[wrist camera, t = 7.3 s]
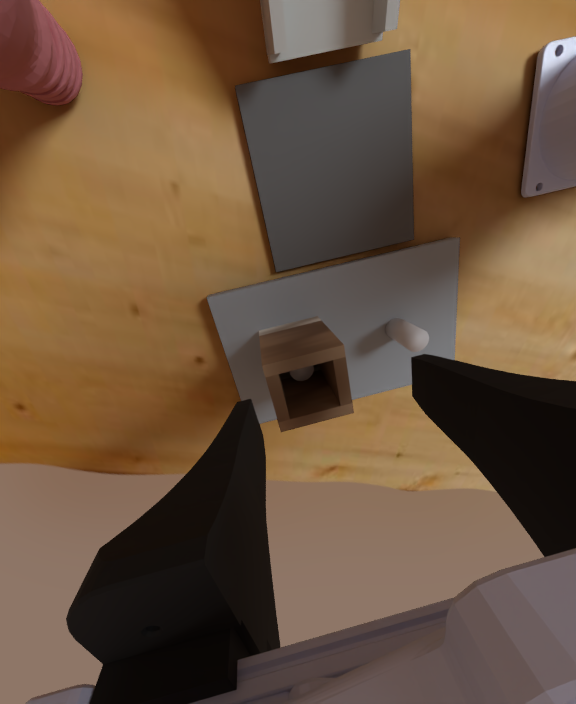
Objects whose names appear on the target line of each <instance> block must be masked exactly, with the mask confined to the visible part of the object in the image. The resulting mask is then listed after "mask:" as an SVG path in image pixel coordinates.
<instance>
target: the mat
mask: <svg viewBox="0 0 576 704" xmlns="http://www.w3.org/2000/svg"><path fill="white" fill-rule="evenodd" d="M235 90H236V94H237V99H238V103H239V108H240V112H241V117H242V121H243V126H244V130H245V135H246V139H247V144H248V148H249V153H250V157H251V162H252V166H253V171H254V175H255V180H256V184H257V189H258V193H259V198H260V202H261V207H262V211H263V216H264V220H265V225H266V229H267V234H268V238H269V243H270V247H271V252H272V256H273V261H274V265H275V270H276V272H279V271H283V270H287V269H292V268H296V267H300V266H304V265H309V264H313V263H317V262H321V261H325V260H330V259H334V258H338V257H342V256H347V255H351V254H355V253H359V252H363V251H368V250H372V249H376V248H380V247H384V246H389V245H393V244H397V243H401V242H406V241H410V240H414V215H413V163H412V112H411V61H410V49H408V50H404V51H399V52H394V53H389V54H384V55H380V56H375V57H370V58H365V59H360V60H356V61H351V62H346V63H341V64H336V65H332V66H327V67H322V68H317V69H312V70H308V71H303V72H298V73H293V74H289V75H284V76H279V77H274V78H269V79H265V80H260V81H255V82H250V83H245V84H241V85H236V86H235Z"/></svg>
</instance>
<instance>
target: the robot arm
mask: <svg viewBox="0 0 576 704" xmlns="http://www.w3.org/2000/svg"><path fill="white" fill-rule="evenodd" d="M555 50H556V55H555ZM536 186H537V190H536ZM575 186H576V36H575V37H570V38H566V39H561V40H556V41H552V42H550V43H548V44H546V45H545V46H543V47H542V49H541V50H540V52H539V53H538V57H537V65H536V73H535V81H534V89H533V98H532V106H531V114H530V122H529V130H528V139H527V147H526V155H525V163H524V171H523V180H522V188H521V195H522V196H523V197H532V196H536V195H541V194H545V193H549V192H553V191H558V190H562V189H566V188H570V187H575ZM411 368H412V396H413V398H414V399H415V400H416V402H417V403H418V405H419V406H420V407H421V409H422V410H423V411H424V412H425V414H426V415H427V416H428V417H429V418H430V419H431V420H432V421H433V422H434V423H435V424H436V425H437V426H438V427H439V428H440V429H441V430H442V431H443V432H444V433H445V434H446V435H447V436H448V437H449V438H450V439H451V440H452V441H453V442H454V443H455V444H456V445H457V446H458V447H459V448H460V449H461V450H462V451H463V452H464V453H465V454H466V455H467V456H468V457H469V459H470V460H471V461H472V462H473V463H474V464H475V465H476V466H477V468H478V469H479V470H480V471H481V473H482V474H483V475H484V476H485V477H486V479H487V480H488V481H489V482H490V484H491V485H492V486H493V487H494V489H495V490H496V491H497V492H498V494H499V495H500V496H501V498H502V499H503V500H504V501H505V503H506V504H507V505H508V507H509V508H510V509H511V511H512V512H513V513H514V514H515V516H516V517H517V519H518V520H519V522H520V523H521V524H522V526H523V527H524V528H525V530H526V531H527V533H528V534H529V535H530V537H531V538H532V539H533V541H534V542H535V544H536V545H537V547H538V548H539V549H540V551H541V552H542V554H543V555H544V558H540V559H537V560H533V561H530V562H526V563H523V564H519V565H516V566H512V567H509V568H505V569H502V570H499V571H497V572H495V573H492V574H490V575H488V576H485V577H483V578H481V579H479V580H476V581H474V582H473V583H472V584H470V585H469V586H468V587H467V588H466V589H464V590H463V591H462V592H461V593H459V594H458V595H457V596H456V597H454V598H451V599H447V600H444V601H441V602H437V603H434V604H430V605H427V606H423V607H420V608H416V609H413V610H410V611H406V612H402V613H399V614H396V615H392V616H389V617H385V618H382V619H378V620H375V621H371V622H368V623H364V624H361V625H357V626H354V627H350V628H347V629H343V630H340V631H337V632H333V633H330V634H326V635H323V636H319V637H316V638H313V639H309V640H305V641H302V642H298V643H295V644H292V645H288V646H285V647H281V648H280V640H279V632H278V624H277V617H276V608H275V599H274V591H273V582H272V574H271V564H270V554H269V545H268V534H267V524H266V455H265V446H264V439H263V434H262V430H261V427H260V424H259V421H258V418H257V415H256V412H255V409H254V406H253V403H252V400H251V399H247V400H243V401H240V402H237V403H236V405H235V407H234V408H233V410H232V412H231V413H230V415H229V417H228V419H227V420H226V422H225V424H224V425H223V427H222V428H221V430H220V432H219V433H218V435H217V436H216V438H215V439H214V441H213V442H212V443H211V445H210V446H209V448H208V449H207V450H206V452H205V453H204V454H203V456H202V457H201V458H200V459H199V460H198V462H197V463H196V464H195V465H194V466H193V467H192V469H191V470H190V471H189V472H188V473H187V474H186V475H185V476H184V477H183V478H182V479H181V480H180V481H179V482H178V483H177V484H176V485H175V487H174V488H172V489H171V490H170V491H169V492H168V493H167V494H166V495H165V496H164V497H163V498H162V499H161V500H160V501H159V502H158V503H156V504H155V505H154V506H153V507H152V508H151V509H149V510H148V511H147V512H146V513H145V514H144V515H143V516H141V517H140V518H139V519H138V520H136V521H135V522H134V523H133V524H131V525H130V526H129V527H127V528H126V529H125V530H123V531H122V532H121V533H120V534H118V535H117V536H116V537H114V538H113V539H112V540H110V541H109V542H108V543H107V544H105V545H104V546H102V547H101V548H100V549H99V551H98V553H97V555H96V557H95V559H94V561H93V563H92V565H91V567H90V569H89V571H88V573H87V575H86V577H85V579H84V581H83V583H82V585H81V587H80V589H79V591H78V593H77V595H76V597H75V599H74V601H73V603H72V605H71V607H70V609H69V612H68V615H67V618H66V620H67V625H68V629H69V632H70V633H71V635H72V636H73V637H74V638H75V640H76V641H77V642H79V643H80V644H81V645H82V646H83V647H84V648H85V649H86V650H88V651H89V652H90V653H91V654H92V655H93V656H94V657H96V658H97V659H98V660H99V661H100V662H102V664H103V667H102V670H101V672H100V675H99V678H98V681H97V684H96V686H94V685H89V684H82V685H76V686H73V687H69V688H65V689H62V690H58V691H55V692H51V693H48V694H44V695H41V696H37V697H34V698H31V699H30V700H29V701H28V702H26V704H576V381H567V380H556V379H548V378H540V377H533V376H527V375H520V374H514V373H509V372H504V371H499V370H494V369H489V368H485V367H480V366H476V365H472V364H468V363H464V362H459V361H455V360H451V359H447V358H443V357H439V356H434V355H429V354H422V355H418V356H414V357H411Z"/></svg>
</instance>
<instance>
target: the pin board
mask: <svg viewBox="0 0 576 704" xmlns="http://www.w3.org/2000/svg"><path fill="white" fill-rule="evenodd" d="M459 248H460V237H453V238H446V239H442V240H438V241H434V242H429V243H425V244H421V245H417V246H413V247H408V248H404V249H400V250H396V251H392V252H387V253H383V254H379V255H375V256H371V257H366V258H362V259H358V260H354V261H350V262H345V263H341V264H337V265H333V266H329V267H324V268H320V269H316V270H312V271H308V272H303V273H299V274H295V275H291V276H287V277H282V278H278V279H274V280H270V281H266V282H261V283H257V284H253V285H249V286H245V287H240V288H236V289H232V290H228V291H223V292H219V293H215V294H211V295H208V297H207V300H208V303H209V306H210V309H211V312H212V315H213V318H214V321H215V324H216V327H217V330H218V333H219V336H220V339H221V342H222V345H223V348H224V351H225V354H226V357H227V360H228V363H229V366H230V369H231V372H232V375H233V378H234V381H235V384H236V387H237V390H238V393H239V396H240V399H241V401H243V400H247V399H251V400H252V403H253V406H254V409H255V412H256V415H257V418H258V421H259V424H260V423H264V422H268V421H272V420H276V419H277V416H276V413H275V410H274V406H273V403H272V399H271V396H270V392H269V389H268V385H267V382H266V378H265V375H264V371H263V368H262V361H261V350H260V339H259V331H260V330H264V329H268V328H272V327H276V326H280V325H284V324H288V323H292V322H296V321H300V320H304V319H308V318H312V317H316V316H318V317H319V318H320V319H321V320H322V321H323V323H324V324H325V325H326V326H327V327H328V328H329V329H330V330H331V331H332V332H333V333H334V335H335V336H336V337H337V338H338V339H339V340H340V341H341V342H342V343H343V344H344V348H345V355H346V362H347V369H348V376H349V383H350V390H351V397H352V400H353V399H357V398H361V397H365V396H369V395H373V394H377V393H380V392H384V391H388V390H392V389H396V388H400V387H404V386H408V385H411V384H412V368H411V357H414V356H418V355H422V354H429V355H434V356H439V357H443V358H447V359H451V360H455V337H456V315H457V293H458V270H459ZM313 371H314V367H313V365H312V366H308V367H304V368H300V369H297V370H293V371H289V372H290V375H291V376H292V378H293V379H295V380H297V381H304V380H307V379H308V378H310V377H311V376H312V374H313Z"/></svg>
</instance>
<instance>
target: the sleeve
mask: <svg viewBox="0 0 576 704" xmlns="http://www.w3.org/2000/svg"><path fill="white" fill-rule="evenodd" d="M259 339H260V350H261V361H262V368H263V371H264V375H265V378H266V382H267V385H268V389H269V392H270V396H271V399H272V403H273V406H274V410H275V413H276V416H277V420H278V423H279V427H280V430H281V432H283V431H287V430H291V429H295V428H298V427H302V426H306V425H310V424H314V423H317V422H321V421H325V420H329V419H332V418H336V417H340V416H344V415H348V414H351V413H354V411H353V404H352V397H351V390H350V383H349V376H348V369H347V362H346V355H345V348H344V344H343V343H342V342H341V341H340V340H339V339H338V338H337V337H336V336H335V335H334V333H333V332H332V331H331V330H330V329H329V328H328V327H327V326H326V325H325V324H324V323H323V321H322V320H321V319H320V318H319V317H318V316H316V317H312V318H308V319H304V320H300V321H296V322H292V323H288V324H284V325H280V326H276V327H272V328H268V329H264V330H260V331H259ZM312 365H313V367H314V371H313V374H312V376H311V377H310V378H308V379H307V380H304V381H297V380H295V379H293V378H292V376H291V375H290V372H289V371H293V370H297V369H300V368H304V367H308V366H312Z"/></svg>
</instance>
